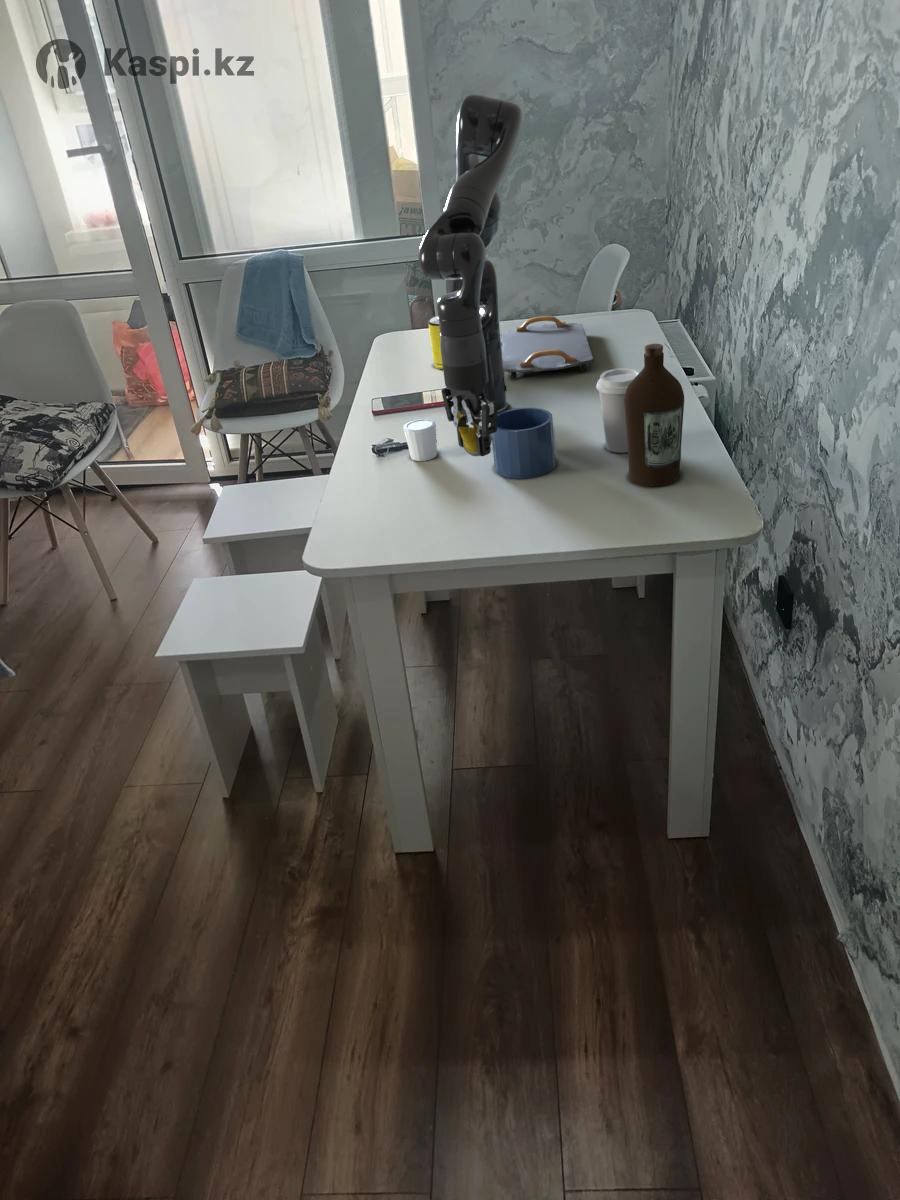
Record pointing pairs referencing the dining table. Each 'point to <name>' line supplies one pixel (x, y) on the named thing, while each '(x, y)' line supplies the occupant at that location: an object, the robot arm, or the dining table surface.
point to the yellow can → (435, 341)
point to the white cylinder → (421, 439)
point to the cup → (524, 443)
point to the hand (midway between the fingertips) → (474, 449)
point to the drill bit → (470, 440)
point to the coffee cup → (615, 406)
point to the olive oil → (654, 422)
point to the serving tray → (545, 347)
